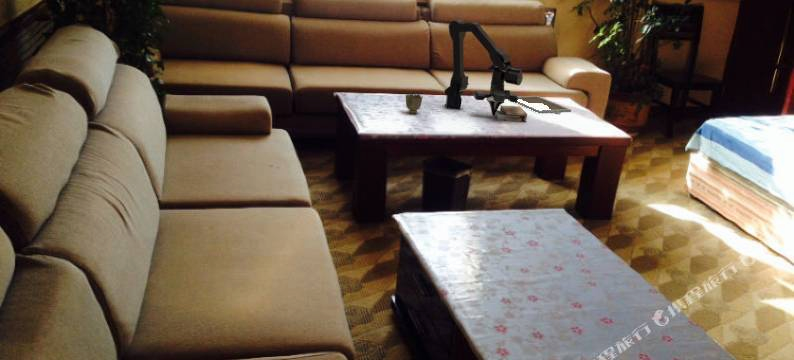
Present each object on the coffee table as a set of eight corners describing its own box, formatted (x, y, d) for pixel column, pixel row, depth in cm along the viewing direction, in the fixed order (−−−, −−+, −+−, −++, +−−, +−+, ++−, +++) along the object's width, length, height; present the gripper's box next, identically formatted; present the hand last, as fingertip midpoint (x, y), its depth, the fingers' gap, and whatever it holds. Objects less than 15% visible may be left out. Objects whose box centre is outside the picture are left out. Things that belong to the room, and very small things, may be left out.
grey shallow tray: (497, 119, 287) (498, 114, 286) (494, 114, 295) (494, 110, 294) (519, 120, 288) (520, 116, 287) (515, 115, 295) (516, 111, 295)
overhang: (506, 121, 285) (507, 112, 284) (499, 113, 297) (500, 105, 296) (526, 122, 286) (527, 114, 284) (518, 114, 298) (519, 106, 297)
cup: (423, 115, 284) (425, 97, 282) (408, 115, 282) (409, 97, 279) (417, 110, 291) (418, 93, 288) (401, 111, 288) (403, 93, 285)
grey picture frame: (537, 95, 333) (575, 111, 308) (536, 98, 333) (574, 114, 308) (506, 97, 325) (542, 112, 300) (505, 100, 325) (542, 116, 300)
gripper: (480, 83, 276) (476, 119, 282) (523, 86, 278) (517, 121, 284) (475, 78, 287) (471, 112, 292) (516, 80, 289) (511, 114, 294)
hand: (493, 115), depth 290 cm, fingers closed
